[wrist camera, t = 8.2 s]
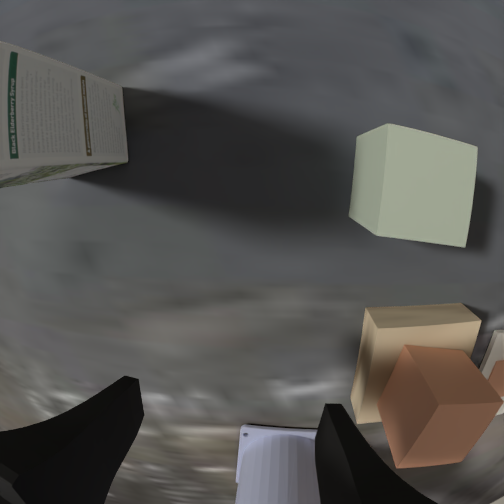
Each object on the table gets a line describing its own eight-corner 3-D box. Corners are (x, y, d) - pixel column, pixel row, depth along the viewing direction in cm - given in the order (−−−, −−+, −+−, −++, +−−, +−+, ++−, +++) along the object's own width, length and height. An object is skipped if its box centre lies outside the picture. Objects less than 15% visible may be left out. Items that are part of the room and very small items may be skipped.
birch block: (435, 385, 22) (450, 410, 19) (349, 394, 23) (357, 423, 19) (458, 301, 20) (481, 320, 17) (364, 305, 21) (377, 328, 17)
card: (500, 410, 22) (503, 414, 21) (453, 419, 22) (456, 424, 22) (539, 327, 19) (543, 331, 19) (494, 329, 20) (499, 334, 19)
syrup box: (124, 83, 18) (-47, 16, 4) (131, 165, 19) (-64, 181, 5) (61, 107, 18) (-102, 87, 4) (67, 182, 20) (-106, 215, 6)
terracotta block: (433, 406, 18) (460, 461, 13) (376, 404, 19) (396, 468, 13) (462, 350, 17) (503, 401, 11) (404, 344, 17) (439, 404, 12)
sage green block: (418, 226, 19) (465, 247, 13) (348, 216, 19) (376, 235, 13) (427, 151, 17) (477, 147, 12) (356, 136, 18) (387, 123, 12)
